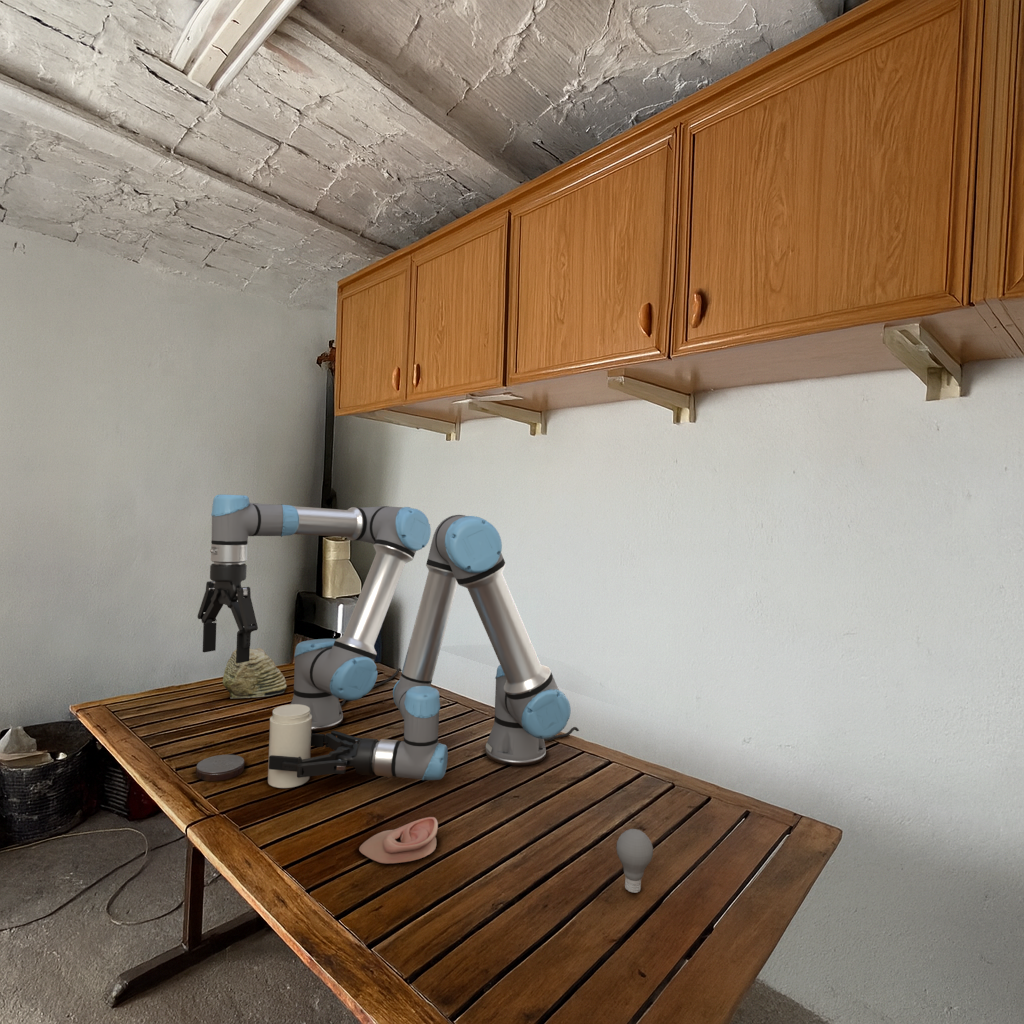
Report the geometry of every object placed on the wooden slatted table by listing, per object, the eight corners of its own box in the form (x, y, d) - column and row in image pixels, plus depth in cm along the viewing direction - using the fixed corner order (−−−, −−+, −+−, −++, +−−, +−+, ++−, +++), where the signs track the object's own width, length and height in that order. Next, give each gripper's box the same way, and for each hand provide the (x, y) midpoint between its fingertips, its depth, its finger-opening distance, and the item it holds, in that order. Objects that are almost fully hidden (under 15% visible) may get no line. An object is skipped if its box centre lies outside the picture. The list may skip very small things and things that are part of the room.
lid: (185, 778, 139) (186, 769, 139) (213, 760, 149) (214, 752, 149) (227, 783, 138) (227, 774, 138) (252, 764, 148) (253, 756, 148)
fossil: (218, 695, 195) (220, 647, 195) (278, 685, 208) (279, 640, 207) (228, 703, 189) (230, 653, 188) (289, 692, 201) (290, 645, 201)
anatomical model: (352, 836, 111) (378, 805, 123) (351, 858, 111) (377, 826, 123) (423, 847, 109) (444, 815, 120) (422, 870, 109) (443, 836, 120)
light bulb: (610, 879, 108) (613, 822, 108) (644, 879, 109) (647, 822, 109) (619, 902, 102) (622, 840, 102) (655, 901, 103) (658, 840, 103)
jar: (318, 775, 144) (320, 707, 144) (290, 791, 136) (293, 719, 135) (287, 767, 147) (289, 701, 147) (258, 782, 139) (261, 712, 139)
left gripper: (183, 558, 147) (180, 649, 147) (245, 569, 133) (241, 670, 133) (214, 557, 153) (211, 644, 154) (276, 567, 139) (273, 663, 139)
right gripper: (357, 800, 127) (256, 791, 129) (391, 751, 152) (305, 745, 154) (359, 763, 127) (257, 755, 129) (392, 720, 152) (307, 714, 154)
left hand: (225, 656), depth 143 cm, fingers open, 13 cm apart
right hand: (283, 749), depth 141 cm, fingers open, 13 cm apart
